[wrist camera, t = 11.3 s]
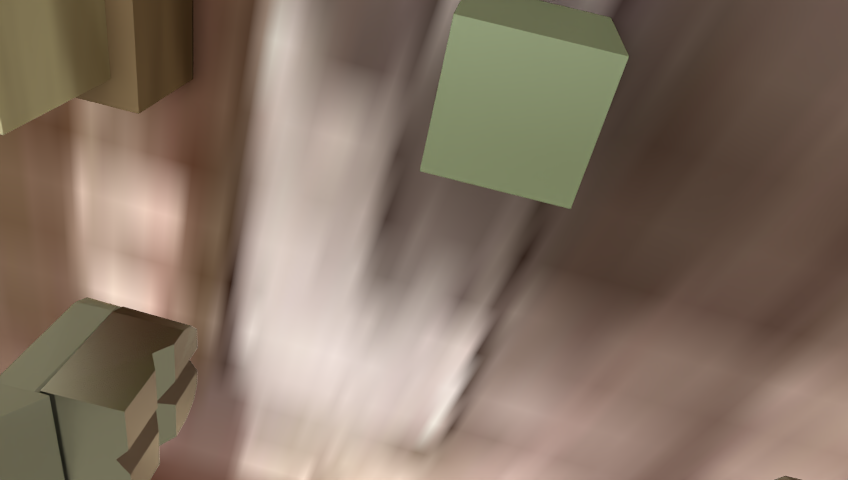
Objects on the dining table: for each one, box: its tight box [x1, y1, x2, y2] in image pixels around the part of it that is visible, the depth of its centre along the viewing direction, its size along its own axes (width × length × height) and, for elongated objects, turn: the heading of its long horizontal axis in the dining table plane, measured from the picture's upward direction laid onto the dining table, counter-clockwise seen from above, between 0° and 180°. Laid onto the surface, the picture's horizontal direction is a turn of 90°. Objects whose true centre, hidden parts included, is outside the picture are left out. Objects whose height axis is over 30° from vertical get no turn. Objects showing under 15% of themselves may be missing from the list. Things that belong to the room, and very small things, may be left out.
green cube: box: [420, 0, 629, 209], centre depth 21 cm, size 5×5×5 cm
